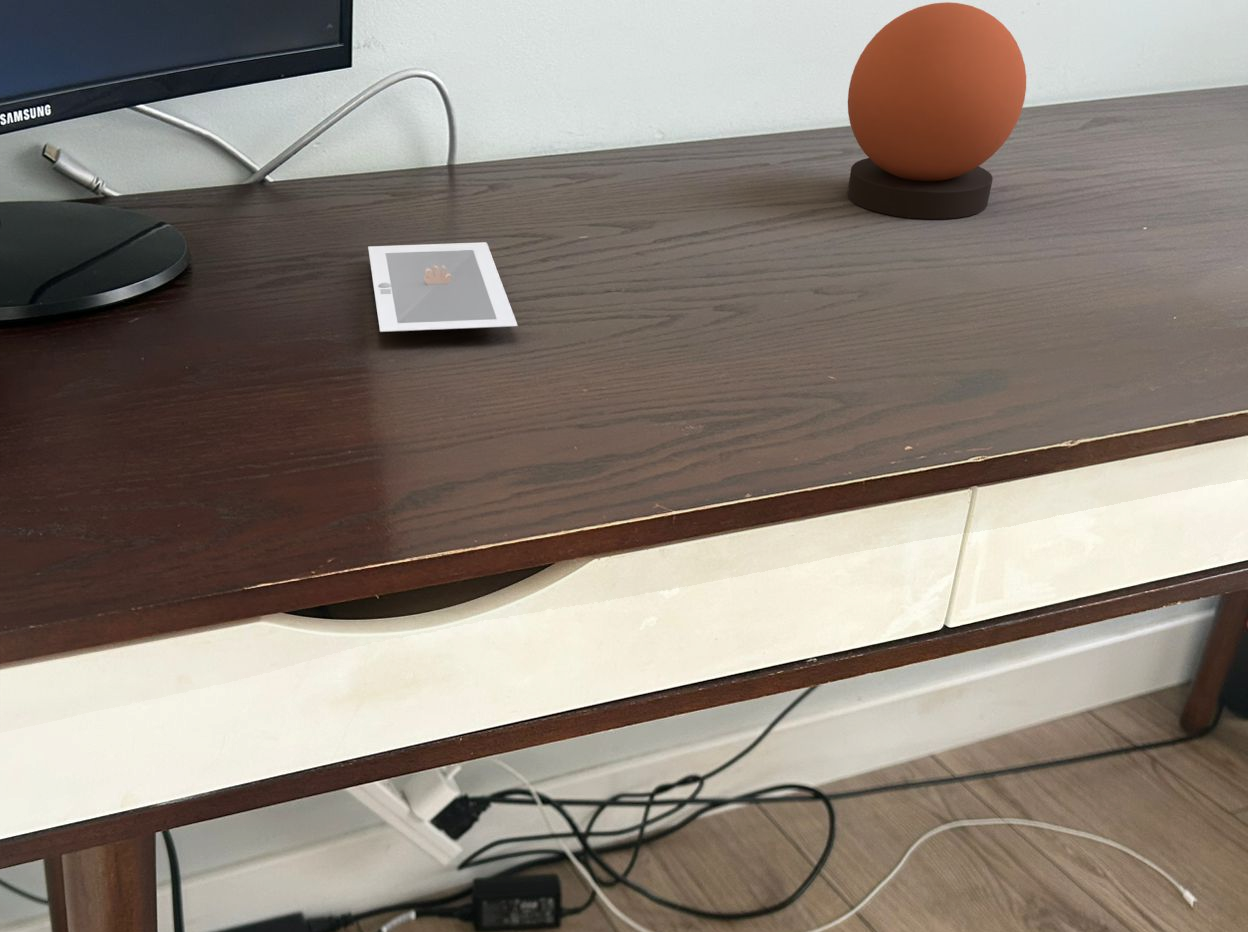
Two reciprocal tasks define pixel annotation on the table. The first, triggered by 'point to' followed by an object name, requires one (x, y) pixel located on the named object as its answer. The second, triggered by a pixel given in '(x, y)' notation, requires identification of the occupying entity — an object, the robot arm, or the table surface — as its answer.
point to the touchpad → (438, 287)
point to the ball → (933, 111)
